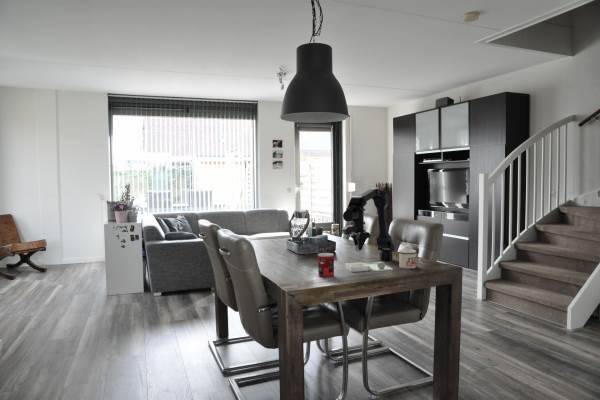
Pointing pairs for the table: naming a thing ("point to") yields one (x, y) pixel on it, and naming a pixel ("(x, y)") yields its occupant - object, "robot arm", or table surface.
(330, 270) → the canned food
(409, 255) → the teacup with lid
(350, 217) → the robot arm
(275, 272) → the table surface
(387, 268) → the tray
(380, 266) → the pebble
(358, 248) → the pebble
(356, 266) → the open box
